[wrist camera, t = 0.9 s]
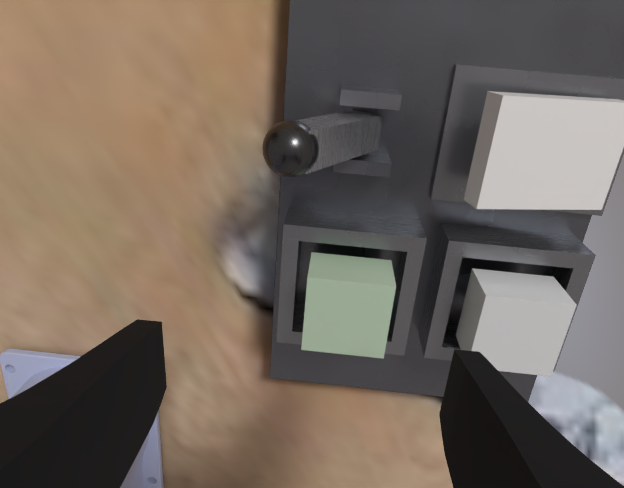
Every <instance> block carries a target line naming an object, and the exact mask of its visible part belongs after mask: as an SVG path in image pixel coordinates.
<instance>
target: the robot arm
mask: <svg viewBox="0 0 624 488" xmlns="http://www.w3.org/2000/svg"><path fill="white" fill-rule="evenodd" d="M0 364H1V368H2V373H3V377H4V381H5V385H6V390H7V394H8V398H9V399H8V400H6V401H4V402H2V403H0V488H164V483H163V469H162V454H161V440H160V426H159V411H158V410H159V407H160V405H161V402H162V399H163V396H164V393H165V390H166V387H167V386H166V373H165V360H164V347H163V334H162V322H157V321H147V320H136V321H134V322H133V323H131V324H130V325H128V326H126V327H125V328H123V329H122V330H120V331H119V332H117V333H116V334H114V335H113V336H111V337H110V338H108V339H107V340H105V341H104V342H102V343H101V344H99V345H98V346H96V347H95V348H93V349H92V350H90V351H89V352H87V353H86V354H84V355H83V356H73V355H64V354H55V353H46V352H36V351H27V350H18V349H6V350H4V351H3V352H2V353H1V354H0ZM11 365H12V366H13V367H12V366H11ZM440 422H441V430H442V438H443V445H444V451H445V456H446V460H447V464H448V468H449V472H450V476H451V480H452V484H453V487H454V488H624V486H623V485H621V484H620V483H619V482H617V481H616V480H615V479H613V478H612V477H611V476H610V475H608V474H607V473H606V472H605V471H603V470H602V469H601V468H600V467H598V466H597V465H596V464H595V463H593V462H592V461H591V460H590V459H589V458H587V457H586V456H585V455H584V454H583V453H581V452H580V451H579V450H578V449H577V448H576V447H575V446H573V445H572V444H571V443H570V442H569V441H568V440H567V439H566V438H565V437H564V436H562V435H561V434H560V433H559V432H558V431H557V430H556V429H555V428H554V427H553V426H552V425H550V424H549V423H548V422H547V421H546V420H545V419H544V418H543V417H542V416H541V415H540V414H539V413H538V412H537V411H536V410H535V409H534V408H533V407H532V406H531V405H530V404H529V403H528V402H527V401H526V400H525V399H524V398H523V397H522V396H521V395H520V394H519V393H518V392H517V391H516V389H515V388H514V387H513V386H512V385H511V384H510V383H509V382H508V381H507V380H506V379H505V378H504V377H503V376H502V375H501V374H500V372H499V371H498V370H497V369H496V368H495V367H494V366H493V365H492V364H491V363H490V362H489V361H488V360H487V359H486V358H485V357H484V356H483V355H482V354H481V353H480V352H477V351H467V350H456V349H454V353H453V357H452V361H451V366H450V370H449V375H448V379H447V383H446V388H445V392H444V397H443V401H442V405H441V410H440Z"/></svg>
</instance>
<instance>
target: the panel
mask: <svg viewBox="0 0 624 488" xmlns="http://www.w3.org/2000/svg"><path fill="white" fill-rule="evenodd" d="M487 91H493V92H509V93H525V94H542V95H558V96H574V97H590V98H606V99H619V100H624V0H290V8H289V27H288V46H287V65H286V83H285V102H284V121H286V120H301V119H306V118H311V117H317V116H322V115H328V114H333V113H339V112H344V111H350V110H355V111H361V112H366V113H372V114H377V115H383V117H382V125H381V132H380V139H379V147H378V150H376V151H373V152H370V153H367V154H364V155H361V156H358V157H355V158H352V159H349V160H346V161H343V162H341V163H338V164H335V165H332V166H329V167H326V168H323V169H320V170H317V171H314V172H311V173H308V174H303V175H301V176H298V177H284V176H281V177H280V196H279V215H278V234H277V252H276V271H275V290H274V309H273V328H272V346H271V365H270V378H275V379H284V380H294V381H303V382H312V383H321V384H330V385H339V386H349V387H358V388H367V389H376V390H385V391H394V392H404V393H413V394H422V395H431V396H440V397H444V392H445V388H446V383H447V379H448V375H449V370H450V366H451V361H452V357H453V353H454V349H456V350H461V349H460V346H459V343H458V340H457V337H456V332H457V328H458V324H459V320H460V316H461V312H462V307H463V303H464V299H465V295H466V291H467V287H468V283H469V279H470V275H471V270H472V268H473V269H483V270H493V271H503V272H513V273H523V274H533V275H543V276H553V277H554V278H555V279H556V280H557V281H558V283H559V284H560V285H561V286H562V288H563V289H564V290H565V291H566V292H567V294H568V295H569V296H570V297H571V299H572V300H573V301H574V302H575V303H576V305H577V306H578V303H579V300H580V298H581V295H582V292H583V289H584V286H585V283H586V281H587V278H588V275H589V272H590V270H591V266H592V264H593V261H594V258H595V256H596V255H595V254H594V253H593V252H592V251H591V250H589V249H588V248H587V247H586V246H585V245H584V244H583V243H582V242H583V239H584V236H585V233H586V231H587V227H588V225H589V222H590V219H591V216H592V215H599V216H602V214H603V211H604V208H605V205H606V202H607V199H608V197H609V194H610V191H611V188H612V185H613V182H614V179H615V176H616V174H617V171H618V168H619V165H620V162H621V159H622V156H623V154H624V148H623V151H622V153H621V156H620V159H619V162H618V165H617V168H616V171H615V173H614V176H613V179H612V182H611V185H610V188H609V191H608V194H607V196H606V199H605V202H604V205H603V208H602V210H533V209H476V208H474V207H473V206H471V205H470V204H469V203H467V202H466V201H464V196H465V191H466V187H467V182H468V177H469V173H470V168H471V164H472V159H473V155H474V150H475V146H476V141H477V137H478V132H479V128H480V123H481V118H482V114H483V109H484V105H485V100H486V96H487ZM311 252H315V253H324V254H334V255H344V256H354V257H364V258H374V259H384V260H391V261H392V266H393V272H394V277H395V283H396V290H395V296H394V302H393V308H392V314H391V319H390V325H389V331H388V337H387V342H386V348H385V354H384V359H383V358H373V357H364V356H354V355H345V354H336V353H326V352H317V351H308V350H301V347H302V335H303V324H304V312H305V300H306V288H307V277H308V271H309V265H310V259H311ZM577 306H576V308H575V311H576V309H577ZM575 311H574V314H575ZM574 314H573V317H574ZM573 317H572V320H573ZM572 320H571V322H572ZM571 322H570V325H571ZM570 325H569V328H570ZM569 328H568V331H569ZM568 331H567V334H568ZM567 334H566V336H565V339H566V337H567ZM565 339H564V342H565ZM564 342H563V345H564ZM563 345H562V348H563ZM562 348H561V350H560V353H561V351H562ZM560 353H559V356H560ZM559 356H558V359H559ZM558 359H557V362H558ZM557 362H556V364H555V367H556V365H557ZM555 367H554V370H555ZM554 370H553V372H554ZM499 372H500V374H501V375H502V376H503V377H504V378H505V379H506V380H507V381H508V382H509V383H510V384H511V385H512V386H513V387H514V388H515V389H516V391H517V392H518V393H519V394H520V395H521V396H522V397H523V398H524V399H525V400H526V401H527V402H528V400H529V398H530V395H531V392H532V389H533V386H534V383H535V380H536V377H537V375H532V374H523V373H513V372H504V371H499Z"/></svg>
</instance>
